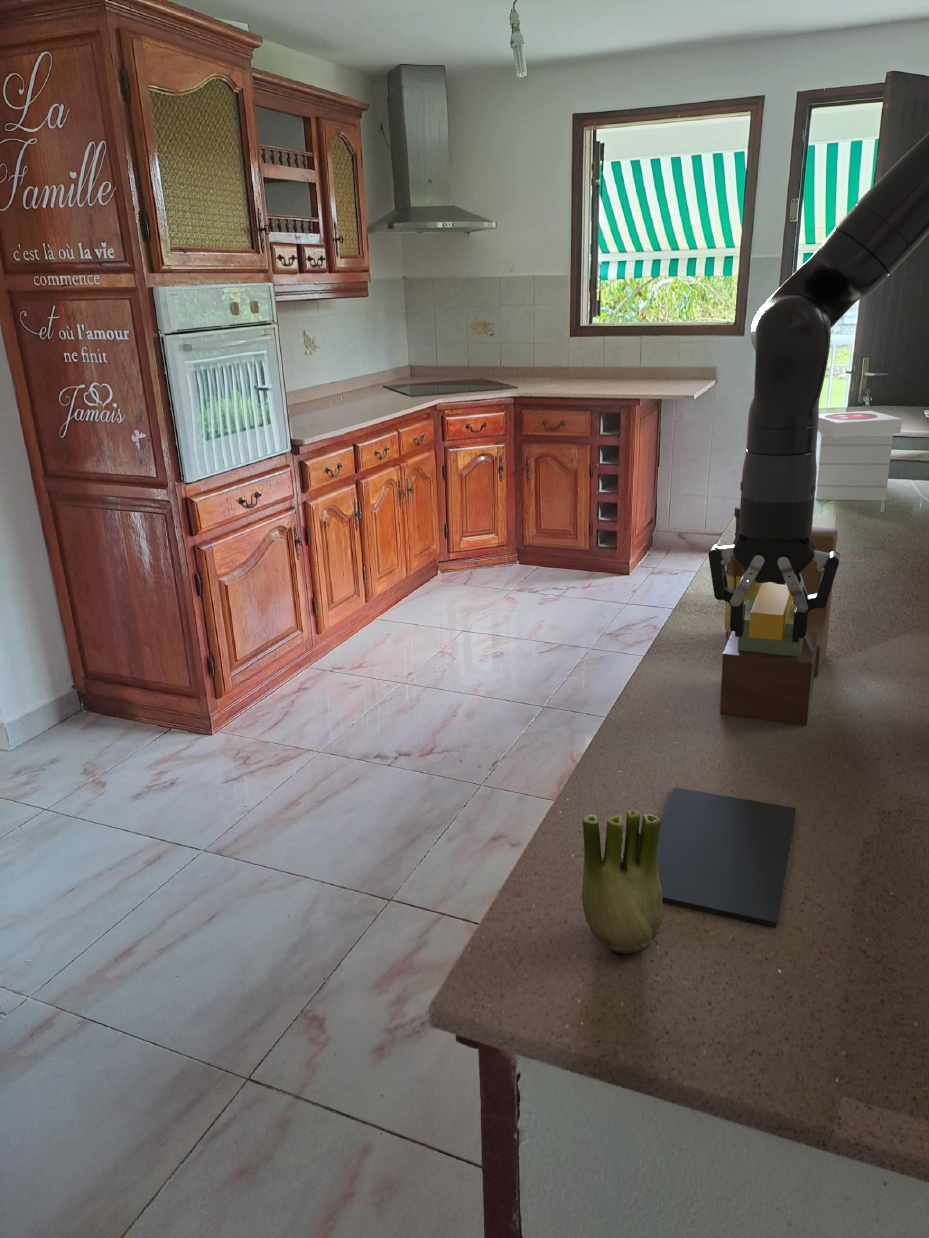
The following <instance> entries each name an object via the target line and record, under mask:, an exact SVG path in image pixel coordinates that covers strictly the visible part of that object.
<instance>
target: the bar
mask: <svg viewBox="0 0 929 1238" xmlns="http://www.w3.org/2000/svg"><path fill="white" fill-rule="evenodd" d="M792 604H793V598H792V596H791V595H790V593H789V590H788V588H787V585H786V583H785V585H781V584H775V583H772V582H766V583H762V584H761V587H760V589H759V592H758V595H757V597H756V600H755V602H754V605H753V607H752V610H751V613H750V627H749V637H752V638H762V639H772V640H782V637H783V633H784V630H785V626H786V623H787V619H788V615H789V612H790V608H791V605H792Z"/></svg>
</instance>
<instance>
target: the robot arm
mask: <svg viewBox="0 0 929 1238" xmlns="http://www.w3.org/2000/svg"><path fill="white" fill-rule="evenodd" d="M928 235H929V131H928V132H927V133H926V134H925V135H924V136H923V137H922V138H921V139H920V140H919V141H918V142H917V143H916V144H915V145H914V146H912V147H911V148H910V149H909V150H908V151H907V152H906V153H905V154H904V155H903V156H902V157H900V159H899V160H898V161H897V162H895V163H894V165H892V167H890V168H889V169H888V170H887V171H886V172H885V173H884V174H883V175H882V176H881V177H879V179H878V180H877V181H876V182H875V183H874V185H872V186H871V188H869V190H868V191H867V192H866V193H865V194H864V195H863V196H862V197H861V198H860V199H859V200H858V201H857V202H856V204H855V205H854V206H853V207H852V208H851V209H850V210H849V212H847V214H846V215H844V217H843V218H842V220H841V221H839V223H838V224H837V225H836V226H835V227H834V229H833V230H832V231H831V232H830V233H829V234H828V236H827V237H826V238H825V239H824V241H822V243H821V244H820V246H819V247H818V248H817V250H816V251H815V252H814V253H813V254H812V256H811V257H810V258H808V259H807V261H805V262H804V263H803V264H802V265H801V266H800V267H798V269H797V270H796V271H795V272H794V273H793V274H792V275H791V276H790V277H789V278H787V280H785V281H784V282H783V284H781V286H779V288H777V290H776V291H774V293H773V294H772V295H771V296H770V297H769V298H768V299H767V300H766V302H764V304H763V305H762V306H761V307H760V308H759V310H758V311H757V313H756V314H755V316H754V318H753V320H752V324H751V328H750V339H751V344H752V347H753V349H754V351H755V361H754V384H753V385H754V387H753V388H754V389H753V398H752V400H751V402H750V405H749V409H748V416H747V427H746V428H747V430H746V447H745V448H746V450H745V454H744V455H745V456H744V461H743V465H742V471H741V472H742V473H741V481H740V485H739V488H740V489H739V490H740V504H739V505H740V521H739V536H738V540H737V541H736V543H735V545H732V544H731V545H723V546H722V545H721V544H719V543H716V544H713V546H712V547H711V549H710V550H709V552H708V554H707V555H708V561H709V569H710V576H711V583H712V590H713V595H714V598H715V599H716V600H717V601H724V602H725V601H726V602H728V603H729V604H730V606H731V615H730V629H731V631H733V632H735V637H742V635H743V632H744V621H745V605H746V602H744V597H745V595H746V594H747V592H748V590H749V589H750V587H751V585H752V583H753V581H756V583H766V582H772V583H775V584H781V585H785V583H786V585H787V588H788V590H789V593H790V595H791V596H792V598H793V600H794V603H795V606H796V608H795V612H794V623H793V635H792V642H796V643H799V639H800V638H804V637H805V635H806V632H807V624H808V613H809V611H810V610H812V609H815V608H820V609H821V608H824V607H825V606H826V604H827V600H828V597H829V594H830V591H831V587H832V584H833V585H834V581H835V578H836V574H837V572H838V569H839V565H840V558H841V555H840V552H839V551H837V550H836V551H832V552H830V553H826V552H822V551H817V550H815V548H814V546H813V544H812V541H811V533H812V527H813V521H814V509H815V500H816V497H815V491H816V476H817V464H816V446H817V435H818V423H819V414H820V400H821V394H822V391H823V386H824V381H825V378H826V377H825V376H826V372H827V369H828V368H827V367H828V362H829V356H830V348H831V339H832V328H833V327H834V326H835V324H837V323H838V322H839V320H840V319H841V318H842V317H843V316H844V315H845V314H846V313H847V312H848V311H849V310H850V309H851V308H852V307H853V306H854V305H855V304H856V303H857V302H858V301H860V300H861V299H863V298H865V297H867V296H868V295H870V294H872V293H873V292H874V291H875V290H876V289H877V288H879V287H880V286H881V285H882V284H883V283H884V282H885V281H886V280H887V279H888V278H889V276H891V275H892V274H893V273H894V272H895V270H896V269H897V268H898V267H899V266H900V265H901V264H902V263H903V262H904V261H905V260H906V259H907V258H908V257H909V255H911V253H912V252H913V251H914V250H915V249H916V248H917V247H918V246H919V245H920V244H921V243H922V242H923V241H924V240H925V238H926V237H927V236H928ZM732 555H734V556H735V557H736V559H737V560H738V562H739V563H740V564H741V566H742V567H743V569H744V570H745V573H744V575H743V577H742V579H741V581H740V582H739V584H738V586H737V588H736V590H734V589H732V588H730V587H728V582H727V575H726V569H727V567H726V566H727V564H728V563H729V561H730V556H732ZM812 560H814V561H815V562H816V563H817V570H818V571H819V572H821V573H823V574H822V577H821V581H820V584H819V587H818V590H817V594H813V595H808V594H807V591H806V589H805V586H804V581H803V578H802V576H801V573H800V572H801V571H802V570H803V569H804V568H805V567H806V566H807V565H808V564H809V563H810V562H811V561H812ZM832 588H833V587H832Z"/></svg>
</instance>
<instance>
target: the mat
mask: <svg viewBox="0 0 929 1238" xmlns="http://www.w3.org/2000/svg"><path fill="white" fill-rule="evenodd" d="M796 810H797V809H796V807H793V806H787V805H781V804H775V803H770V802H764V801H757V800H752V799H748V798H746V799H745V798H742V797H741V798H740V797H736V796H735V797H734V796H729V795H722V794H717V793H713V792H712V793H711V792H706V791H698V790H695V789H689V788H688V789H687V788H682V787H677V786H674V787H673V789H672V791H671V793H670V796H669V798H668V801H667V804H666V806H665V808H664V810H663V813H662V815H661V818H660V821H661V824H660V830H659V839H658V850H657V866H658V873H659V879H660V885H661V891H662V902H663V903H666V904H671V905H675V906H678V907H683V908H688V909H692V910H697V911H702V912H706V913H709V914H710V913H711V914H715V915H719V916H723V917H728V918H733V919H736V920H742V921H746V922H750V923H756V924H760V925H764V926H767V927H773V928H777V926H778V921H779V920H778V919H779V914H780V907H781V902H782V895H783V889H784V883H785V879H786V872H787V865H788V859H789V854H790V847H791V841H792V836H793V830H794V823H795V822H794V821H795V816H796Z"/></svg>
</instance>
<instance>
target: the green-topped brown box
mask: <svg viewBox="0 0 929 1238" xmlns="http://www.w3.org/2000/svg"><path fill="white" fill-rule="evenodd" d="M754 602H755V601H747V603H746V605H745V621H744V632H743V635H742V637H735V632H733V631H732V633H731V636H730V638H729V640H728V641H727V643H726V645H725V647H724V650H723V652H722V660H721V661H722V662H721V664H722V665H721V679H720V680H721V682H720V702H719V714H720V715H726V716H734V717H741V718H748V719H757V720H765V721H769V722H770V721H771V722H779V723H786V724H793V725H801V726H807V725H808V720H809V714H810V709H811V703H812V696H813V691H814V681H815V680H814V679H815V676H814V671H815V660H816V649H817V639H818V633H814V632H806V635H805V637H804V638H800V639H799V643H796V642H792V635H793V623H794V612H795V608H796V606H795V604H793V603H792V605H791V608H790V612H789V615H788V619H787V623H786V626H785V630H784V633H783V637H782V640H772V639H762V638H752V637H749V627H750V613H751V610H752V607H753V605H754Z"/></svg>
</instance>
